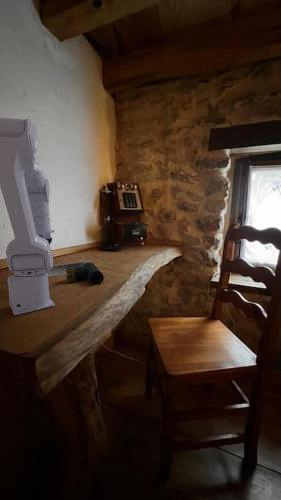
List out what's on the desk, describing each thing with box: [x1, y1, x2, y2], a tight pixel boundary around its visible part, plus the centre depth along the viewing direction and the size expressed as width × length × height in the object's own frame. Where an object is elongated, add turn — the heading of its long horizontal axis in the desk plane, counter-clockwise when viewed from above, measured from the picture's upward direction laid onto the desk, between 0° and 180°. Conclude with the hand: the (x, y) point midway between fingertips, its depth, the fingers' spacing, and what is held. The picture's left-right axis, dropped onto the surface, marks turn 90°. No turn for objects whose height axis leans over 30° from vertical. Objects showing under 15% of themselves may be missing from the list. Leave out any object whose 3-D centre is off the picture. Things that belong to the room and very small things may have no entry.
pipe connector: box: [66, 261, 105, 286], centre depth 83 cm, size 12×5×15 cm
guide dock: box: [48, 259, 92, 278], centre depth 91 cm, size 20×4×4 cm, turn 126°
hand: (43, 259), depth 74 cm, fingers closed
